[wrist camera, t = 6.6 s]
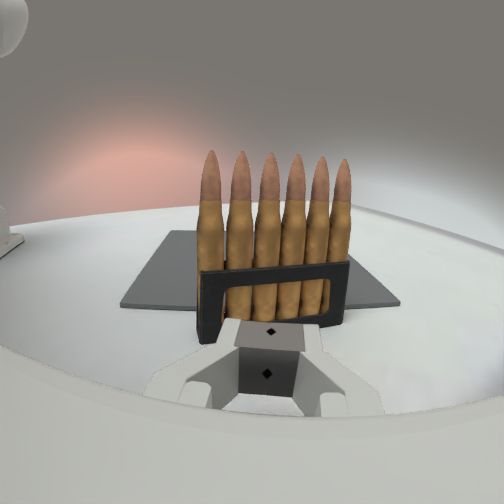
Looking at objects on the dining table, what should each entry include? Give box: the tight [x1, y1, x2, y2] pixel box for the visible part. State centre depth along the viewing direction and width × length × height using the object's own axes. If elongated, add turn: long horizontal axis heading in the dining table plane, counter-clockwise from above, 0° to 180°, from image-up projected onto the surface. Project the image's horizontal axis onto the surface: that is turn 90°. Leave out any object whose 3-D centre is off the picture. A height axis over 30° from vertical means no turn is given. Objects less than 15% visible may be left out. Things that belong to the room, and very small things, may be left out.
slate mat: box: [120, 230, 400, 311], centre depth 35 cm, size 24×24×1 cm
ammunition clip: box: [196, 150, 351, 345], centre depth 19 cm, size 11×2×12 cm, turn 106°
